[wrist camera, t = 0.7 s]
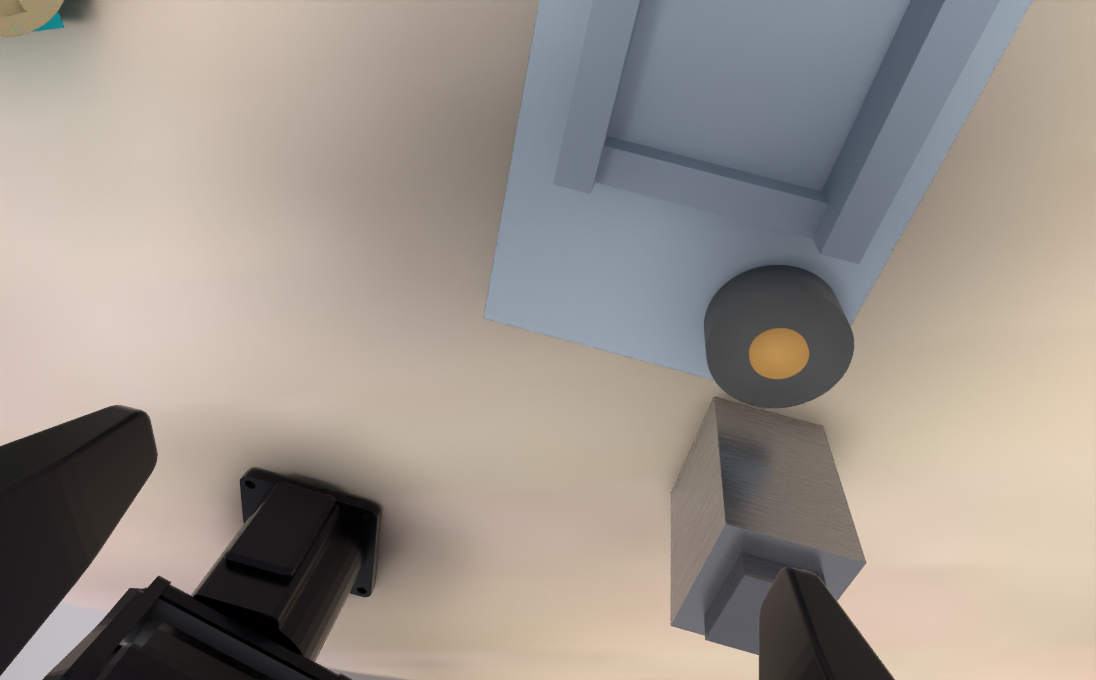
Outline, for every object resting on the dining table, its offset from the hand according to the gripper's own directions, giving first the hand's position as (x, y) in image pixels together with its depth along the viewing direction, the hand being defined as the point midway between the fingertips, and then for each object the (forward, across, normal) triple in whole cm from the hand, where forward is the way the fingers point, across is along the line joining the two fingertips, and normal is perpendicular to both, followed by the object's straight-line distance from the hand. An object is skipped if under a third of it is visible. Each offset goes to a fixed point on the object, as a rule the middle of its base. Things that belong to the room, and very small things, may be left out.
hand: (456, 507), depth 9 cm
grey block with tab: (+13, -8, +8) cm, 18 cm away
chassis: (+13, -4, -3) cm, 14 cm away
